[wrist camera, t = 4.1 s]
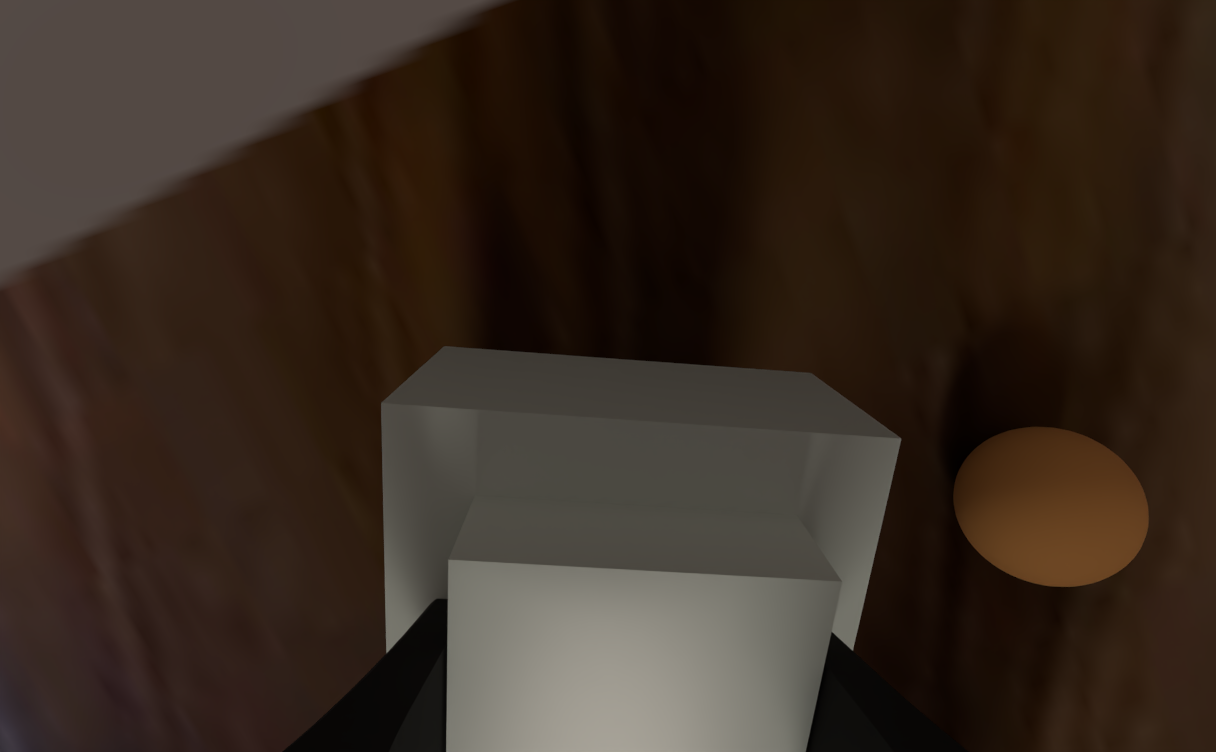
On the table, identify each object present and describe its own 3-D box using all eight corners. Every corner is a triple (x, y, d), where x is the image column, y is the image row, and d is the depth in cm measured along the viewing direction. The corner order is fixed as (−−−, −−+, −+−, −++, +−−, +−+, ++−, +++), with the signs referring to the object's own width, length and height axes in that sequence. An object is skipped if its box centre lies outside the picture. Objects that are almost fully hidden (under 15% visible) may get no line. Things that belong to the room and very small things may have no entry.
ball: (976, 557, 22) (1082, 652, 17) (895, 473, 21) (985, 550, 16) (1087, 469, 21) (1231, 544, 17) (1009, 377, 20) (1139, 429, 16)
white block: (441, 658, 16) (351, 924, 10) (444, 346, 14) (329, 449, 8) (757, 673, 17) (852, 937, 11) (810, 373, 15) (972, 490, 8)
